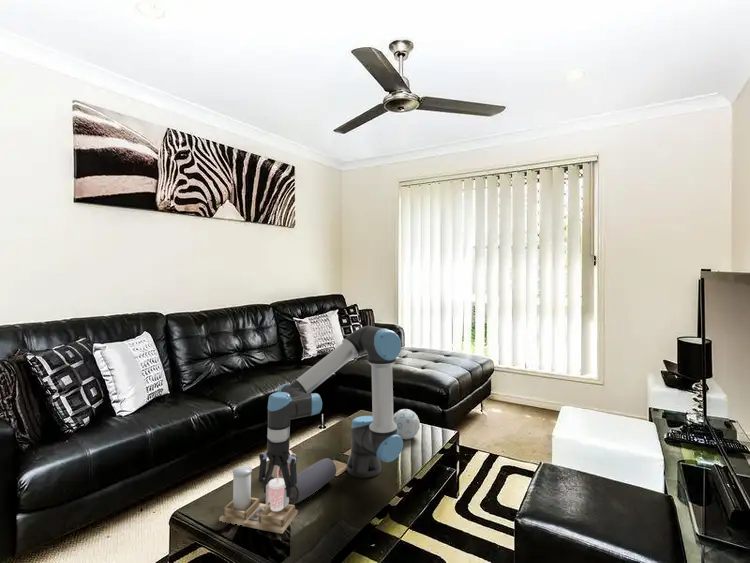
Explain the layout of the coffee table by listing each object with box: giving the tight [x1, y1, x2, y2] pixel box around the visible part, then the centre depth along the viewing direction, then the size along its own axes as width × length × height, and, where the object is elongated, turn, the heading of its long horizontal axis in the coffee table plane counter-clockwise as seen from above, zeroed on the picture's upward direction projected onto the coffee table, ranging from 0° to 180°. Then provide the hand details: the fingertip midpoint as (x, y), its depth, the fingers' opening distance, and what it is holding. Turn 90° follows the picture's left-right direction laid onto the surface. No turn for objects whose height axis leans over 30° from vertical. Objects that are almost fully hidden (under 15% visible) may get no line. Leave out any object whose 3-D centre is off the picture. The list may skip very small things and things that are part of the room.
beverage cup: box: [269, 468, 286, 511], centre depth 143 cm, size 6×6×14 cm
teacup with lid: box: [271, 449, 297, 479], centre depth 177 cm, size 12×9×12 cm
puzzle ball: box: [393, 408, 421, 440], centre depth 217 cm, size 15×15×15 cm
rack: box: [218, 497, 299, 535], centre depth 145 cm, size 24×12×4 cm, turn 76°
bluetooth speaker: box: [289, 457, 337, 505], centre depth 162 cm, size 23×9×10 cm, turn 149°
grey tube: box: [232, 465, 253, 511], centre depth 147 cm, size 7×7×15 cm
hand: (277, 503), depth 143 cm, fingers closed on beverage cup, 6 cm apart
